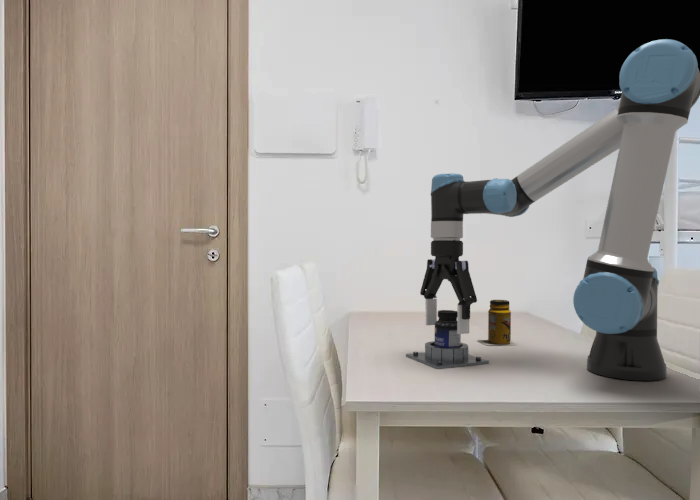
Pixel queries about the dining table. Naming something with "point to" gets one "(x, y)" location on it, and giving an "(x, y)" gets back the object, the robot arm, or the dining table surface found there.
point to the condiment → (498, 324)
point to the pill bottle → (447, 330)
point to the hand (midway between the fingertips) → (446, 329)
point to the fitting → (446, 356)
